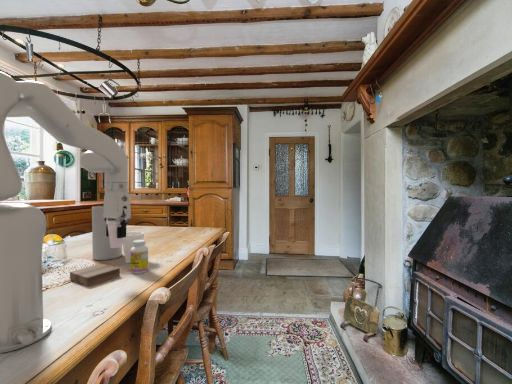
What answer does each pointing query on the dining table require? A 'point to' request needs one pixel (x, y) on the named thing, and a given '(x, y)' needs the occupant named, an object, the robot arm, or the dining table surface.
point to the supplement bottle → (139, 257)
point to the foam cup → (130, 243)
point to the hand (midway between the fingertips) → (116, 236)
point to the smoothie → (114, 234)
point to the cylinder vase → (102, 237)
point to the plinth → (94, 274)
